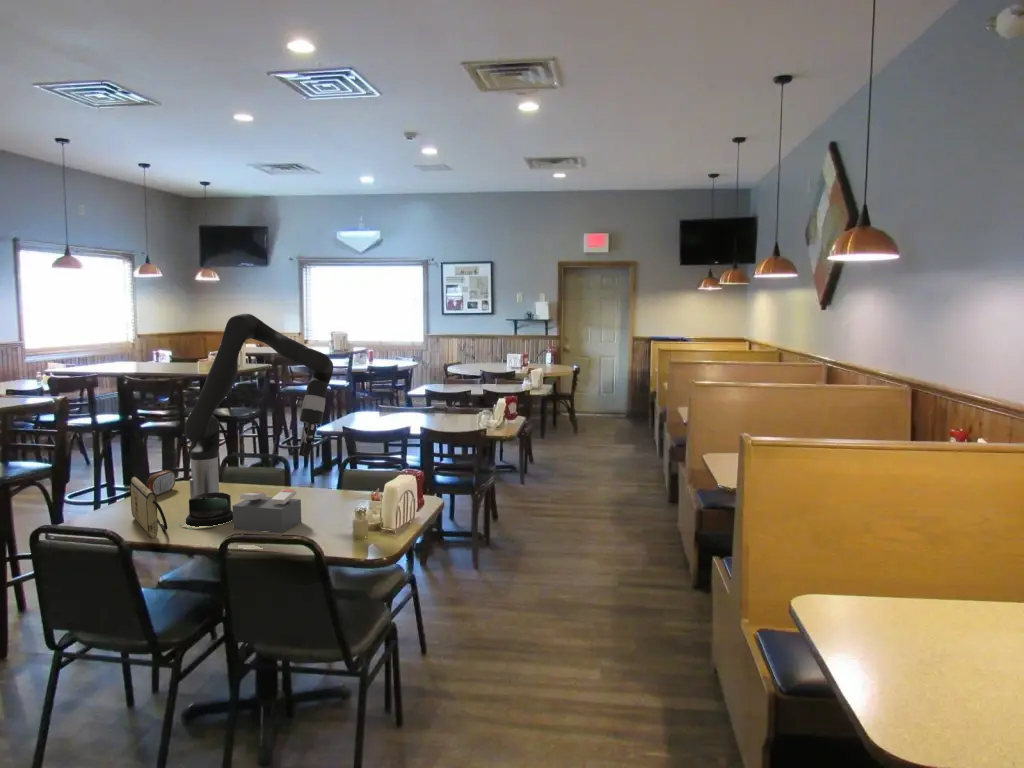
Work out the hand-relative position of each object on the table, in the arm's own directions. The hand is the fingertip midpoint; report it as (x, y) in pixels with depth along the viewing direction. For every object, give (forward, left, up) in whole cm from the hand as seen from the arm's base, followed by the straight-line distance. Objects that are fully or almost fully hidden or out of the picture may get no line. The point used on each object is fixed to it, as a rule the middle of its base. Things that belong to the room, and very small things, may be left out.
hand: (303, 455), depth 239 cm
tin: (-62, +40, -22) cm, 77 cm away
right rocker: (-5, -8, -12) cm, 16 cm away
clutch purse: (-50, -4, -23) cm, 55 cm away
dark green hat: (-32, +1, -23) cm, 39 cm away
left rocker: (-16, -6, -12) cm, 21 cm away
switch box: (-11, -8, -22) cm, 26 cm away
